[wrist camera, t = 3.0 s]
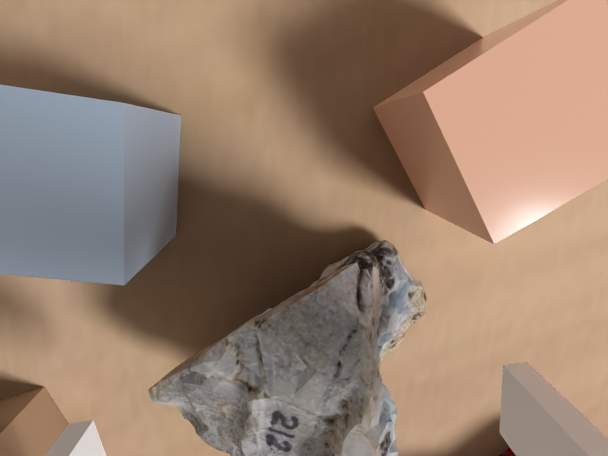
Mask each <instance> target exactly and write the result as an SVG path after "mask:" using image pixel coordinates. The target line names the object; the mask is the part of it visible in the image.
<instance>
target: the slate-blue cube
mask: <svg viewBox="0 0 608 456" xmlns="http://www.w3.org/2000/svg"><path fill="white" fill-rule="evenodd" d="M180 132H181V115H177V114H172V113H168V112H163V111H159V110H154V109H150V108H145V107H140V106H136V105H131V104H127V103H121V102H115V101H108V100H101V99H94V98H88V97H81V96H74V95H67V94H61V93H54V92H47V91H41V90H34V89H27V88H20V87H14V86H7V85H0V274H6V275H17V276H28V277H38V278H49V279H60V280H70V281H81V282H92V283H102V284H113V285H125V284H126V283H127V282H128V281H129V280H130V279H132V278H133V277H134V276H135V275H136V274H137V273H138V272H139V271H140V270H141V269H142V268H143V267H144V266H145V265H146V264H147V263H148V262H149V261H151V260H152V259H153V258H154V257H155V256H156V255H157V254H158V253H159V252H160V251H161V250H162V249H163V248H164V247H165V246H166V245H167V244H168V243H170V242H171V241H172V240H173V239H174V238H175V237H176V230H177V205H178V181H179V156H180Z"/></svg>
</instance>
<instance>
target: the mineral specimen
mask: <svg viewBox="0 0 608 456" xmlns="http://www.w3.org/2000/svg"><path fill="white" fill-rule="evenodd" d="M424 314H426V295H425V292H424V288H423V286H422V283H421V281H418V280H416V279H413V278H412V276H411V275H410V274H409V273H408V272H407V271H406V270H405V267H404V264H403V261H402V258H401V255H400V254H399V252H398V251H397V249H396V248H395V246H394V245H392V244H391V243H389V242H388V241H386V240H384V241H382V242H374V243H372V244H371V245H370V246H369V247H367V248H366V249H365V250H360V251H355V252H354V253H353V254H352V255H350V256H347V257H345V258H344V259H342V260H341V261H339V262H337V263H334V264H328V266H327V267H326V268H325V270H324V271H323V273H322V274H321V276H320V279H319V280H317V281H314V282H313V283H312V284H311V286H310V287H309V288H307V289H304V290H302V291H300V292H298V293H297V294H295V295H293V296H292V297H290V298H288V299H287V300H285V301H283V302H282V303H280V304H279V305H277V306H276V307H274V308H269V309H267V310H266V311H265V312H264V313H262V314H260V315H257V316H255V317H253V318H252V319H250V320H249V321H247V322H246V323H244V324H242V325H241V326H240V327H239V328H237V329H236V330H234V331H233V332H232V333H230V334H229V335H227V336H226V337H224V338H223V339H221V340H220V341H218V342H216V343H214V344H212V345H210V346H208V347H207V348H205V349H203V350H201V351H199V352H197V353H196V354H194V355H193V356H191V357H190V358H188V359H187V360H186V361H184V362H183V363H181V364H180V365H178V366H177V367H176V368H174V369H173V370H172V371H170V372H169V373H168V374H167V375H166V376H165V377H163V378H162V379H161V380H160V381H159V382H158V383H156V384H155V385H154V386H153V387H151V388H150V389H149V394H150V398H151V399H152V401H153V403H157V404H162V405H168V406H174V407H175V408H176V409H178V410H179V411H180V412H181V413H182V415H183V417H184V418H185V419H187V420H189V421H190V422H191V424H192V425H193V426H194V427H195V430H196V433H197V434H198V435H199V436H200V437H201V438H202V439H203V440H204V441H205V442H206V443H207V444H208V445H210V446H212V447H214V448H216V449H217V450H220V451H223V452H226V453H229V454H230V455H231V456H397V455H398V449H397V447H396V438H395V432H394V426H393V425H394V424H395V421H396V418H397V407H396V405H395V403H394V401H393V399H392V396H391V394H390V392H389V391H388V389H387V388H386V387H385V386H384V385H383V384H382V379H381V375H380V372H379V366H380V364H381V362H382V361H383V357H384V355H386V354H388V353H391V352H392V351H393V350H394V349H396V348H398V347H400V344H399V343H400V342H401V341H402V340H403V339H404V333H405V331H406V329H407V328H408V327H409V325H410V324H412V323H415V322H416V321H417V320H418V319H419V318H420V317H421V316H423V315H424Z"/></svg>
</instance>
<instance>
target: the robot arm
mask: <svg viewBox="0 0 608 456" xmlns="http://www.w3.org/2000/svg"><path fill="white" fill-rule="evenodd" d="M499 433H500V434H501V436H502V437H503V438H504V440H505V441H506V443H507V444H508V445H509V447H510V448H511V450H512V451H513V452H514V454H515V455H516V456H608V438H607V437H606V436H604V435H603V434H602V433H601V432H600V431H599V430H598V429H597V428H596V427H595V426H594V425H593V424H592V423H591V422H590V421H589V420H588V419H587V418H585V417H584V416H583V415H582V414H581V413H580V412H579V411H578V410H577V409H576V408H575V407H574V406H573V405H572V404H571V403H570V402H569V401H567V400H566V399H565V398H564V397H563V396H562V395H561V394H560V393H559V392H558V391H557V390H556V389H555V388H554V387H553V386H552V385H551V384H550V383H548V382H547V381H546V380H545V379H544V378H543V377H542V376H541V375H540V374H539V373H538V372H537V371H536V370H535V369H534V368H533V367H532V366H531V365H529V364H528V363H527V362H524V363H516V364H509V365H503V381H502V397H501V414H500V431H499ZM45 456H106V453H105V451H104V448H103V445H102V443H101V440H100V437H99V434H98V432H97V429H96V426H95V424H94V421H93V420H91V421H84V422H76V423H69V424H68V425H67V427H66V428H65V429H64V431H63V432H62V433H61V434H60V436H59V437H58V438H57V440H56V441H55V442H54V444H53V445H52V446H51V448H50V449H49V450H48V452H47V453H46V454H45Z"/></svg>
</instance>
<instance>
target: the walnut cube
mask: <svg viewBox="0 0 608 456" xmlns="http://www.w3.org/2000/svg"><path fill="white" fill-rule="evenodd" d="M67 425H68V422H67V420H66V419H65V417H64V416H63V414H62V413H61V411H60V410H59V408H58V406H57V405H56V403H55V402H54V400H53V399H52V397H51V396H50V394H49V392H48V391H47V389H46V388H45V387H42V388H38V389H35V390H32V391H29V392H25V393H22V394H19V395H15V396H12V397H9V398H6V399H2V400H0V456H45V454H46V453H47V452H48V450H49V449H50V448H51V446H52V445H53V444H54V442H55V441H56V440H57V438H58V437H59V436H60V434H61V433H62V432H63V431H64V429H65V428H66V427H67Z"/></svg>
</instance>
